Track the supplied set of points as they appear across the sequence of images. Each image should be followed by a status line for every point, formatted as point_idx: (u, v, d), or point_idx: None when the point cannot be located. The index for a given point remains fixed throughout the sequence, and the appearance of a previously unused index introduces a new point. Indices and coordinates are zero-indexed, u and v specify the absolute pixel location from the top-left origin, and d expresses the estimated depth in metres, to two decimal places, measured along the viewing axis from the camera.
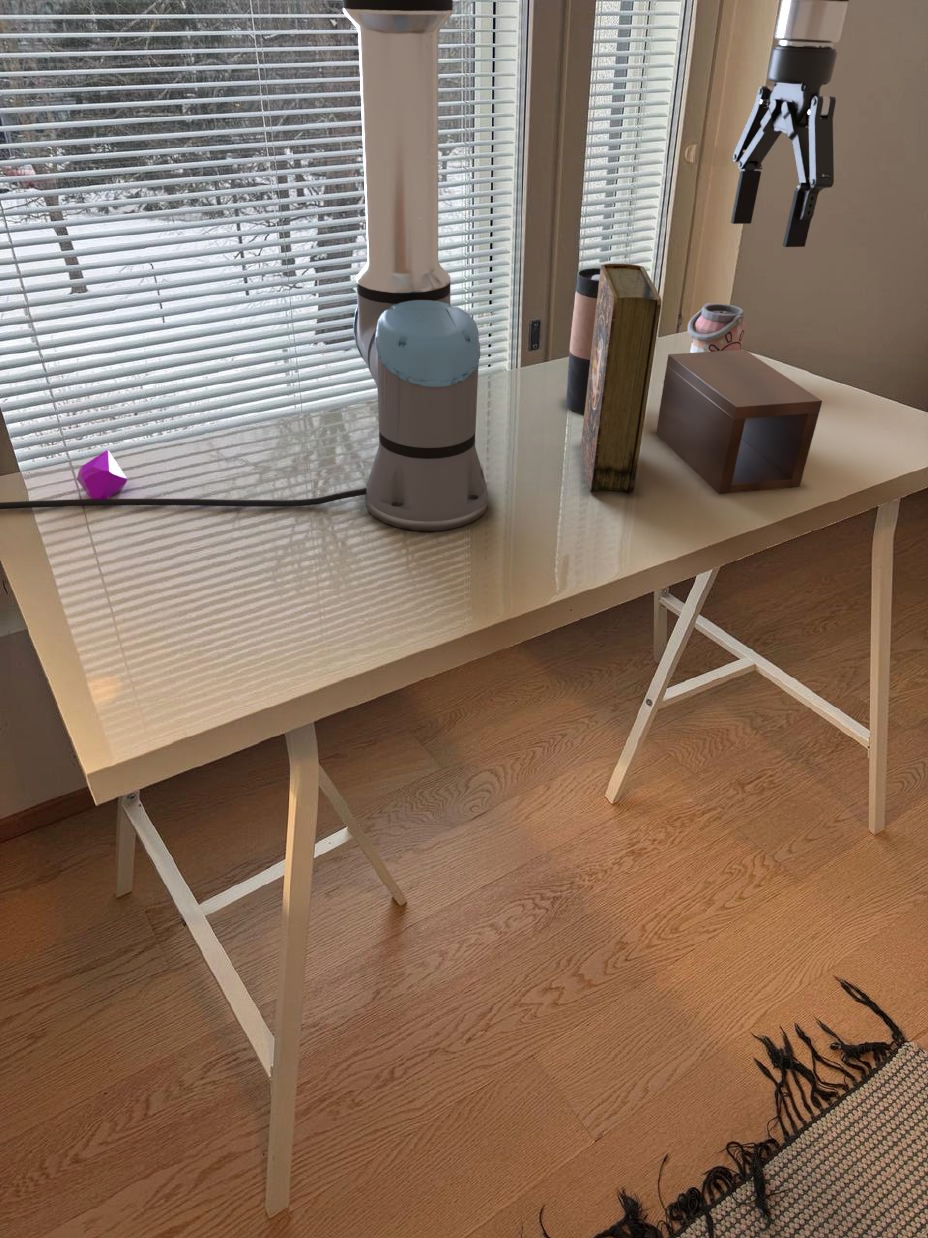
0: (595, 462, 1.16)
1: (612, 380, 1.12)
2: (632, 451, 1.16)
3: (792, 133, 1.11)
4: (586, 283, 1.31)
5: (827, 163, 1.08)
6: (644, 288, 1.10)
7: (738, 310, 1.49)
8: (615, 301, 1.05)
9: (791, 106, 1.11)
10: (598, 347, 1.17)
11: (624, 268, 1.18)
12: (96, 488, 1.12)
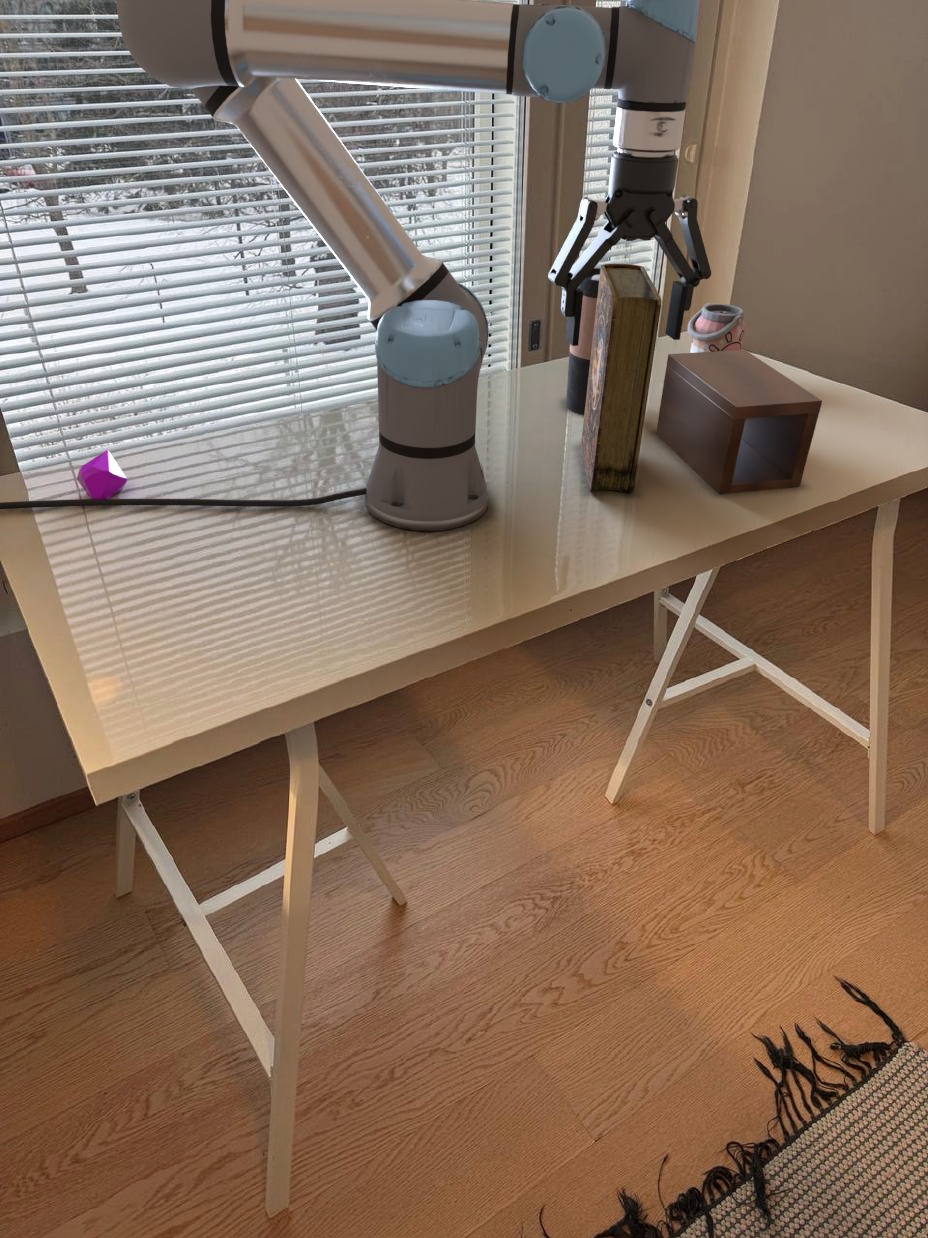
0: (595, 462, 1.16)
1: (612, 380, 1.12)
2: (632, 451, 1.16)
3: None
4: (586, 283, 1.31)
5: (560, 261, 1.08)
6: (644, 288, 1.10)
7: (738, 310, 1.49)
8: (615, 301, 1.05)
9: None
10: (598, 347, 1.17)
11: (624, 268, 1.18)
12: (96, 488, 1.12)
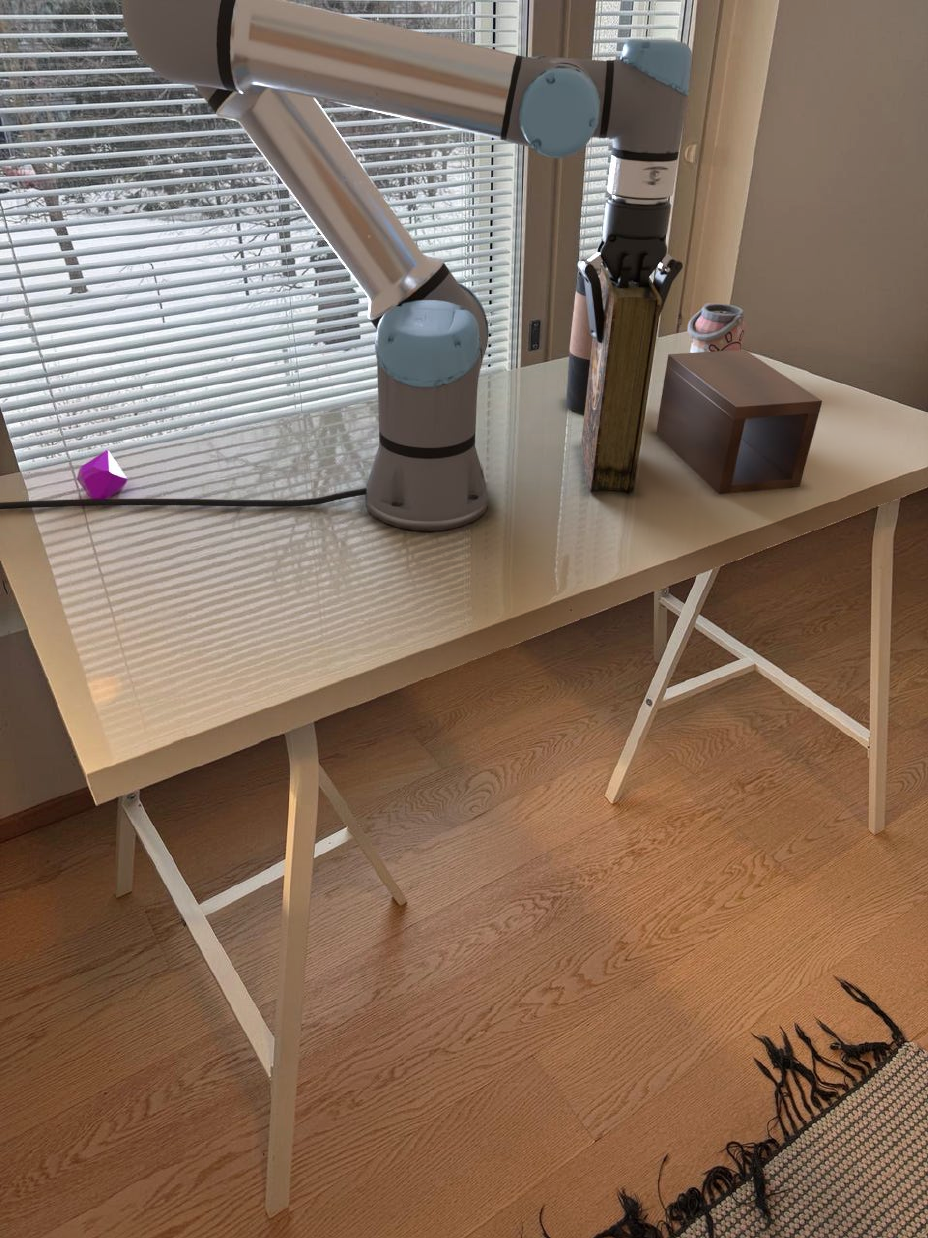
0: (595, 462, 1.16)
1: (612, 380, 1.12)
2: (632, 451, 1.16)
3: None
4: None
5: (593, 322, 1.13)
6: (644, 288, 1.10)
7: (738, 310, 1.49)
8: (615, 301, 1.05)
9: None
10: (598, 347, 1.17)
11: None
12: (96, 488, 1.12)
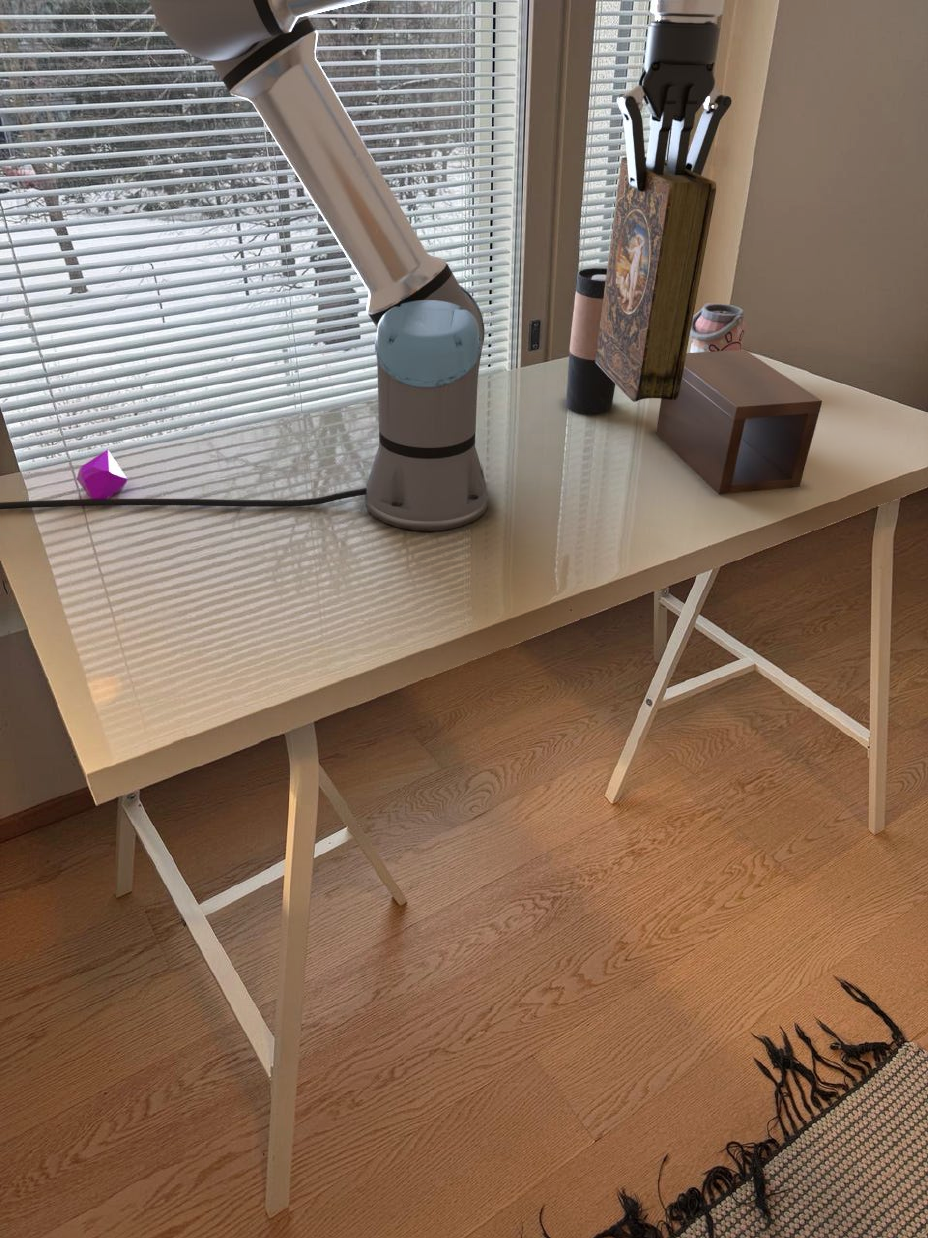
0: (642, 368, 1.10)
1: (660, 277, 1.05)
2: (677, 353, 1.11)
3: None
4: (586, 283, 1.31)
5: (632, 167, 1.04)
6: (684, 176, 1.04)
7: (738, 310, 1.49)
8: (671, 186, 0.99)
9: None
10: (630, 245, 1.10)
11: None
12: (96, 488, 1.12)
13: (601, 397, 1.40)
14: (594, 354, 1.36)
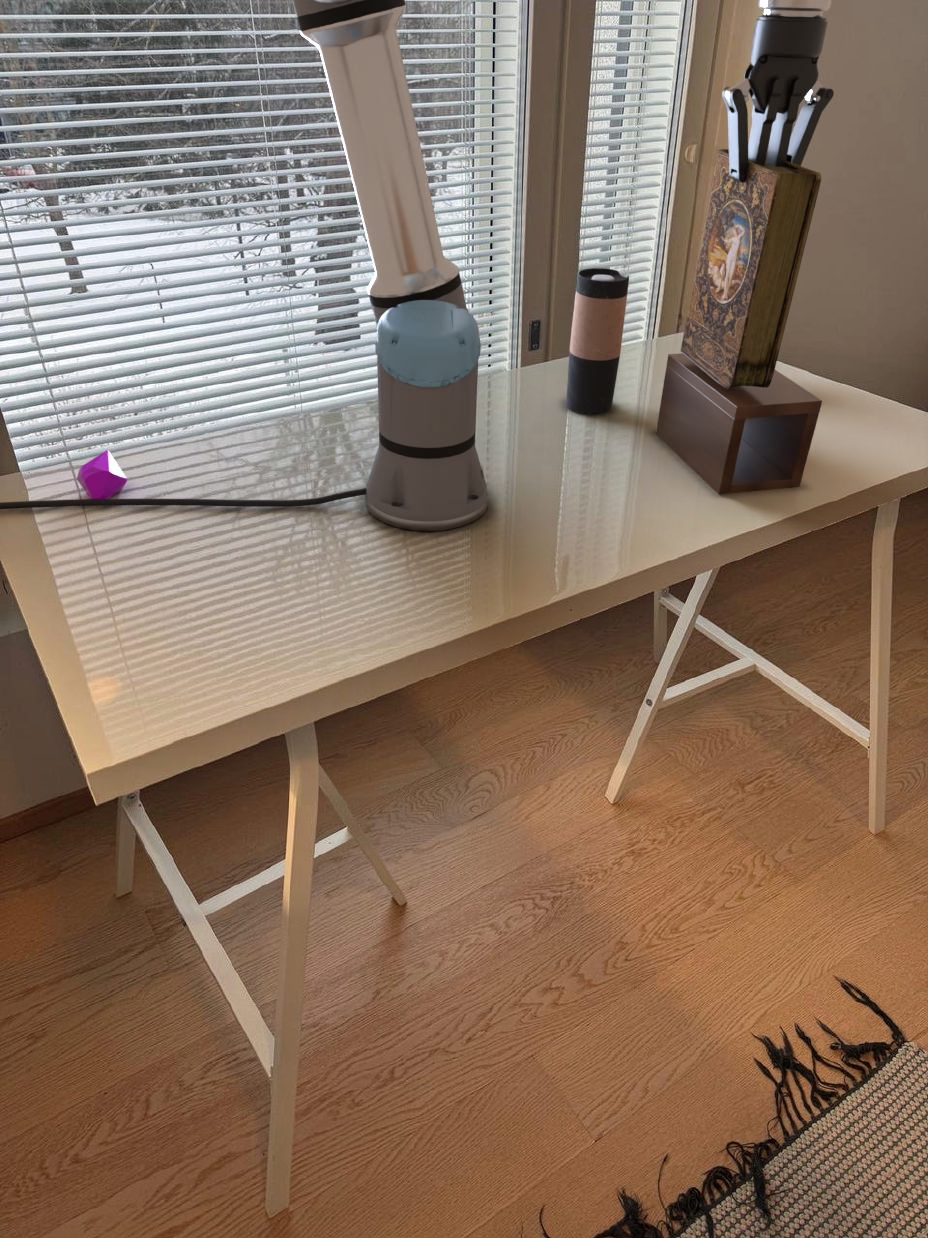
0: (738, 355, 1.12)
1: (761, 266, 1.07)
2: (772, 341, 1.13)
3: None
4: (586, 283, 1.31)
5: (735, 159, 1.06)
6: (784, 167, 1.07)
7: None
8: (778, 177, 1.01)
9: None
10: (727, 236, 1.12)
11: None
12: (96, 488, 1.12)
13: (601, 397, 1.40)
14: (594, 354, 1.36)
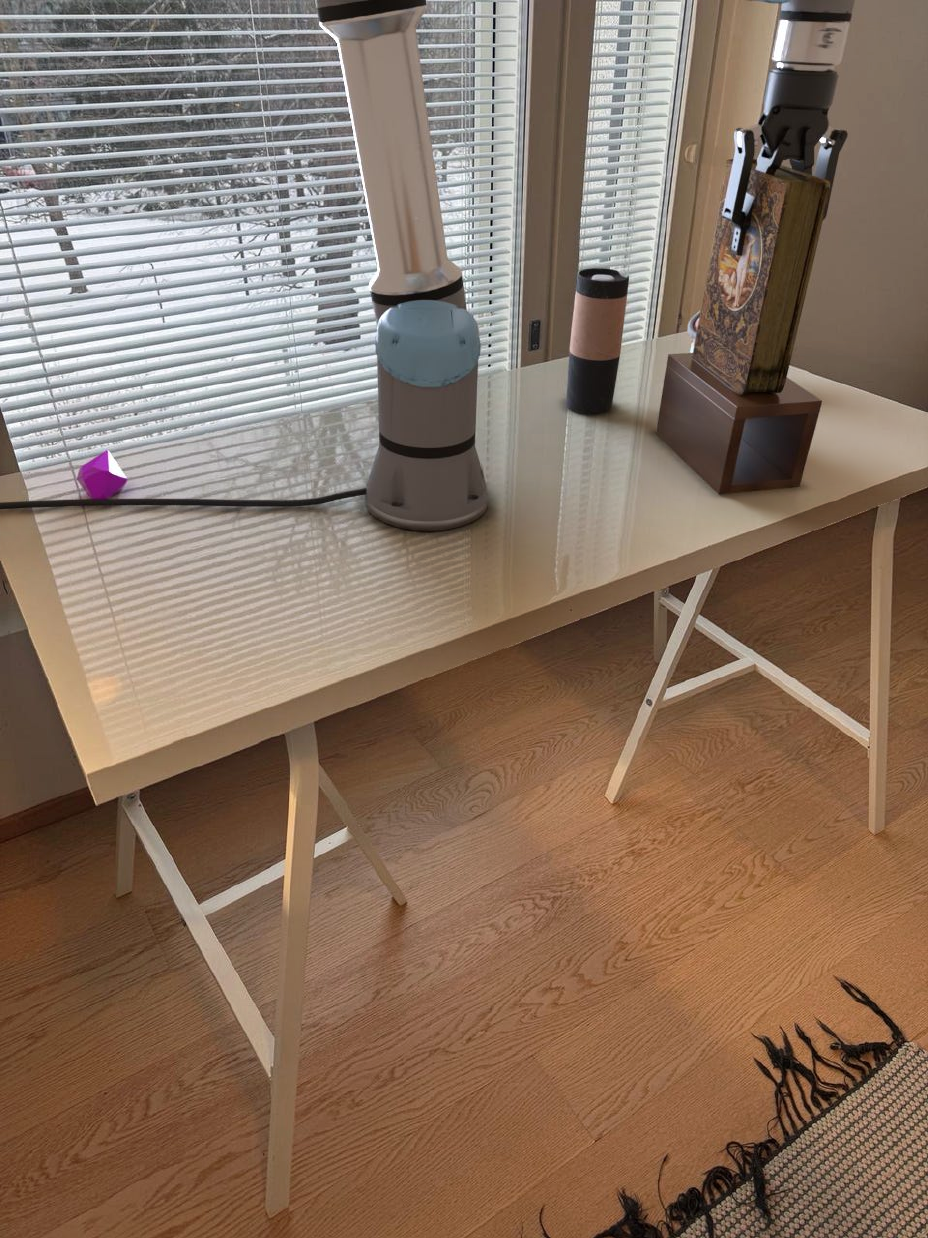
0: (751, 362, 1.13)
1: (772, 273, 1.09)
2: (784, 348, 1.14)
3: None
4: (586, 283, 1.31)
5: (731, 199, 1.09)
6: (793, 176, 1.08)
7: None
8: (788, 185, 1.02)
9: None
10: None
11: None
12: (96, 488, 1.12)
13: (601, 397, 1.40)
14: (594, 354, 1.36)
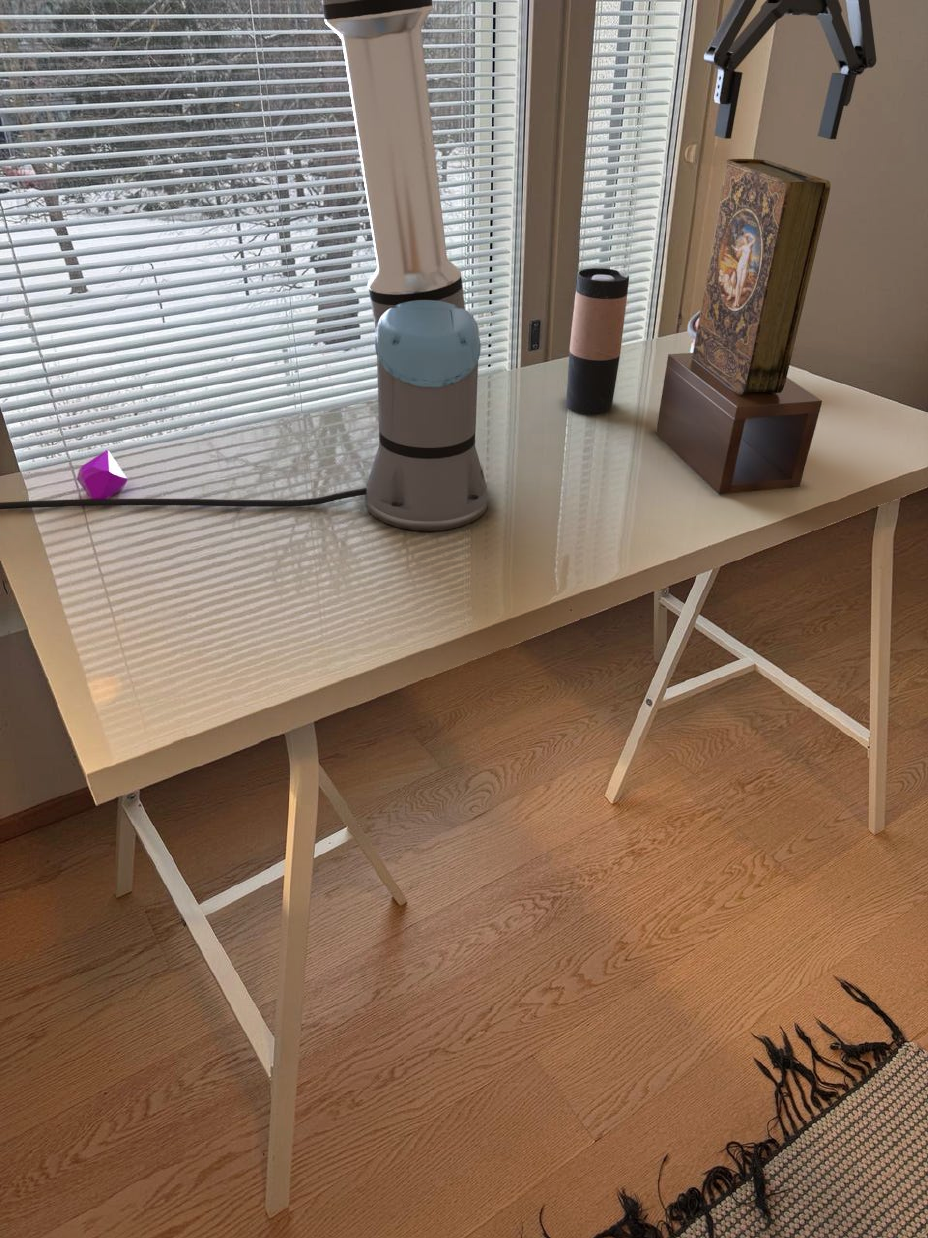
0: (751, 362, 1.13)
1: (772, 273, 1.09)
2: (784, 348, 1.14)
3: None
4: (586, 283, 1.31)
5: (721, 35, 1.00)
6: (793, 176, 1.08)
7: None
8: (788, 185, 1.02)
9: None
10: (737, 244, 1.13)
11: (747, 163, 1.15)
12: (96, 488, 1.12)
13: (601, 397, 1.40)
14: (594, 354, 1.36)
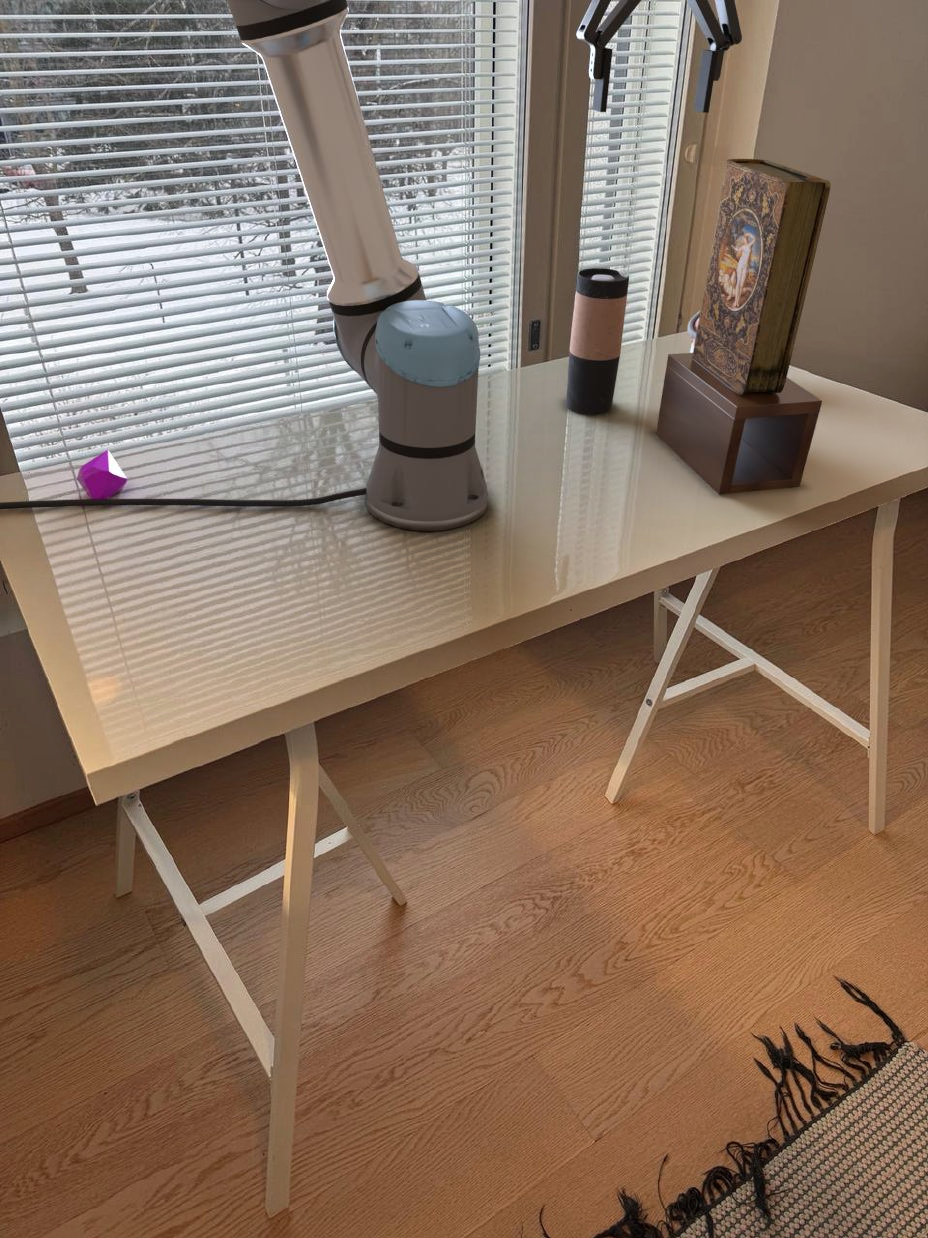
0: (751, 362, 1.13)
1: (772, 273, 1.09)
2: (784, 348, 1.14)
3: None
4: (586, 283, 1.31)
5: (590, 14, 1.06)
6: (793, 176, 1.08)
7: None
8: (788, 185, 1.02)
9: None
10: (737, 244, 1.13)
11: (746, 163, 1.15)
12: (96, 488, 1.12)
13: (601, 397, 1.40)
14: (594, 354, 1.36)
